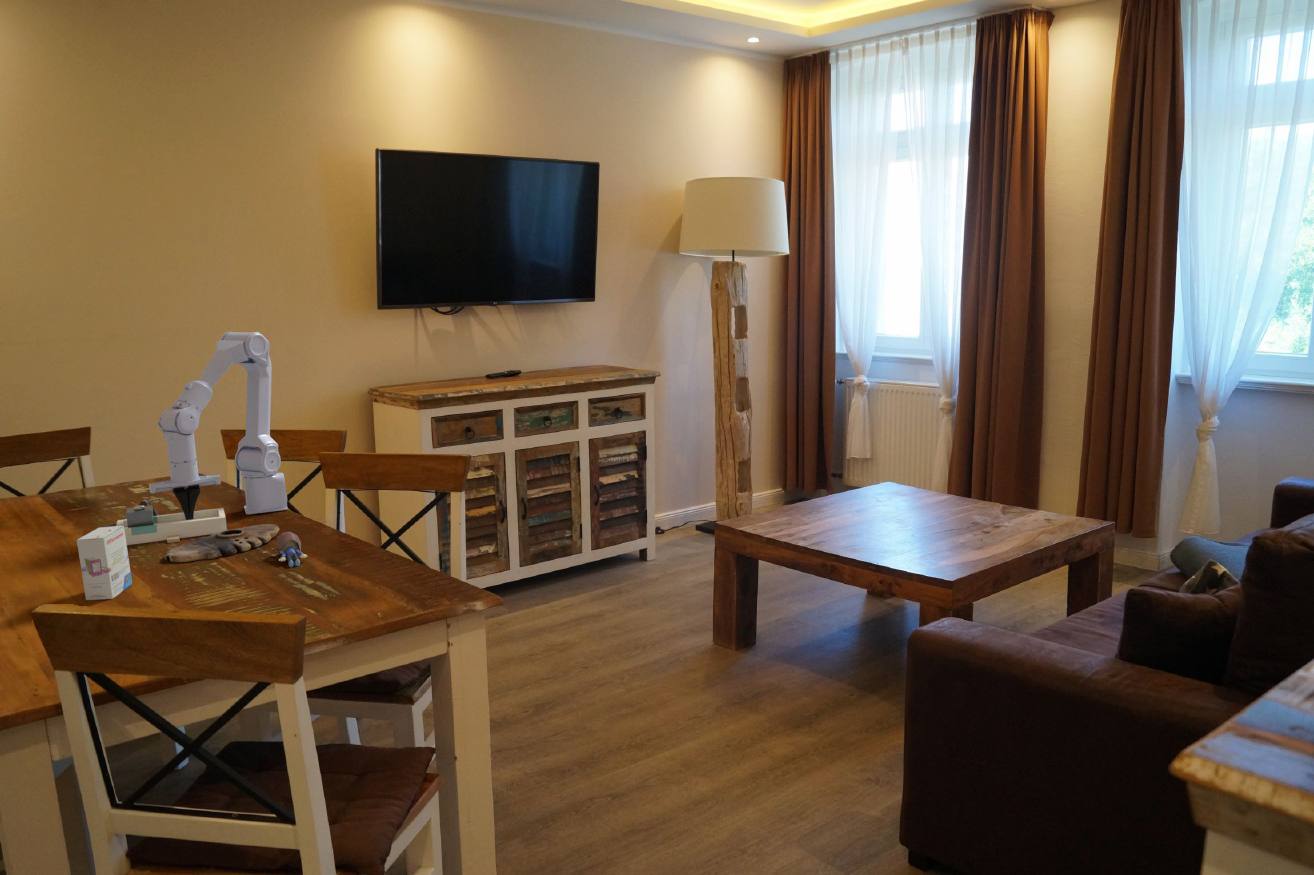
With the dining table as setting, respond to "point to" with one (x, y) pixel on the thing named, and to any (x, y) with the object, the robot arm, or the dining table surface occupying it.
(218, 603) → the dining table surface
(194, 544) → the mask
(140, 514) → the rider
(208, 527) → the white rectangular tray
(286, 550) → the figurine
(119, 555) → the ink box
